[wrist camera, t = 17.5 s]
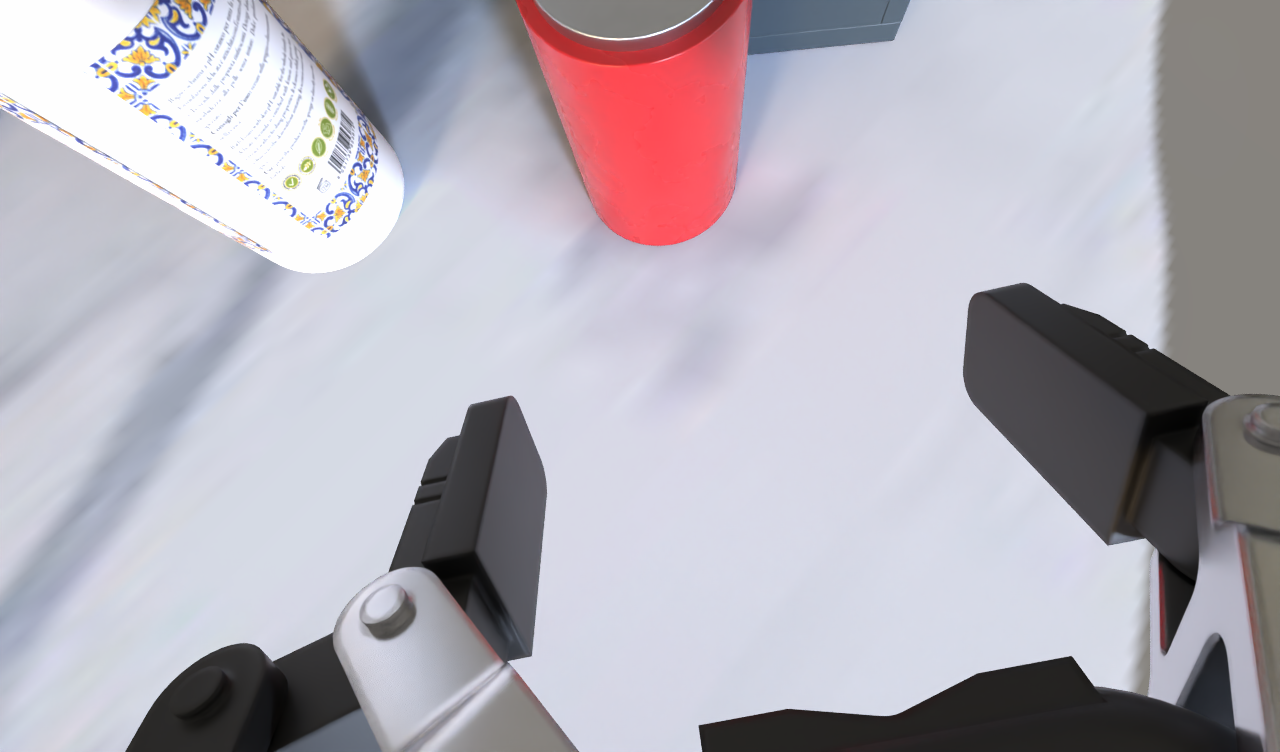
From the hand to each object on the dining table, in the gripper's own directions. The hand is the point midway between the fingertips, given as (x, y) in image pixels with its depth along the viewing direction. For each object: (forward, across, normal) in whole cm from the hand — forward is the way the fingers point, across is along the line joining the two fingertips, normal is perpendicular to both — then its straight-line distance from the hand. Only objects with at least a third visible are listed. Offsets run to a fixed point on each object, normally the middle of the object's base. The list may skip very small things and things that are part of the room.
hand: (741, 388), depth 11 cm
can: (+16, 0, 0) cm, 16 cm away
